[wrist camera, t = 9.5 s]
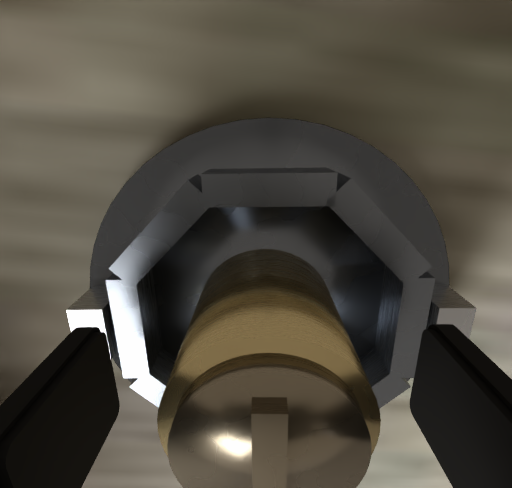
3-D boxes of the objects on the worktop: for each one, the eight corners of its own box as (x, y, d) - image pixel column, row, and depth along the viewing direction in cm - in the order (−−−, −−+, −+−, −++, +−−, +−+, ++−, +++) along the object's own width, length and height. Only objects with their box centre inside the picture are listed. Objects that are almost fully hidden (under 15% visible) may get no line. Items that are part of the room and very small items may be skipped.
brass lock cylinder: (195, 249, 12) (124, 370, 6) (335, 248, 12) (417, 370, 6) (204, 364, 13) (157, 552, 7) (326, 364, 13) (382, 554, 7)
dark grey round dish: (127, 421, 16) (100, 479, 13) (71, 122, 11) (14, 117, 9) (409, 422, 16) (440, 480, 13) (466, 116, 11) (531, 109, 8)
